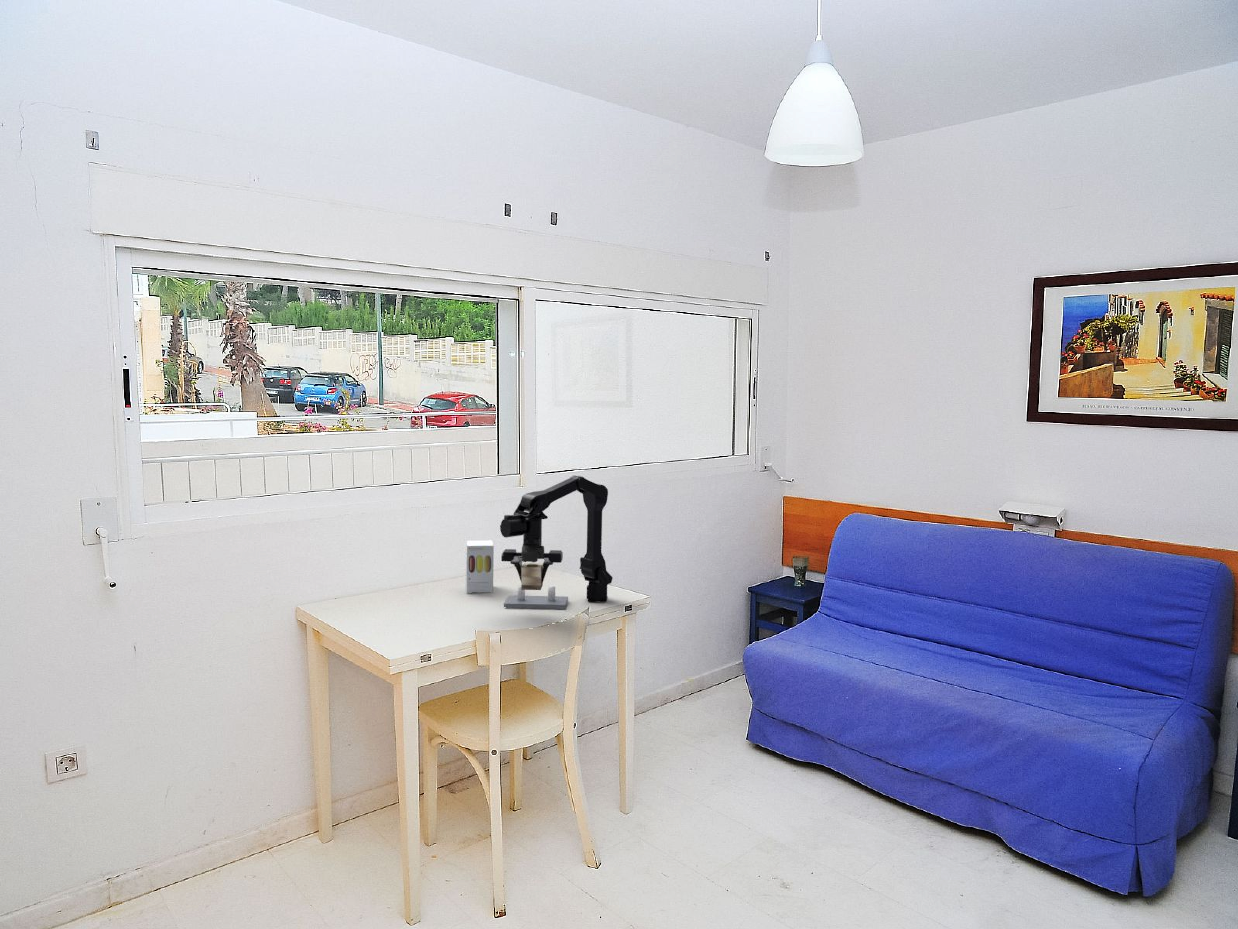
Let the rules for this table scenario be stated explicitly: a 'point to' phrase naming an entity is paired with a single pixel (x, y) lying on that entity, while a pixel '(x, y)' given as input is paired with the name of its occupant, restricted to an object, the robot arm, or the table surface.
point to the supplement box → (479, 566)
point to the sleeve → (531, 576)
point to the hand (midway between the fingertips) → (532, 582)
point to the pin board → (536, 600)
